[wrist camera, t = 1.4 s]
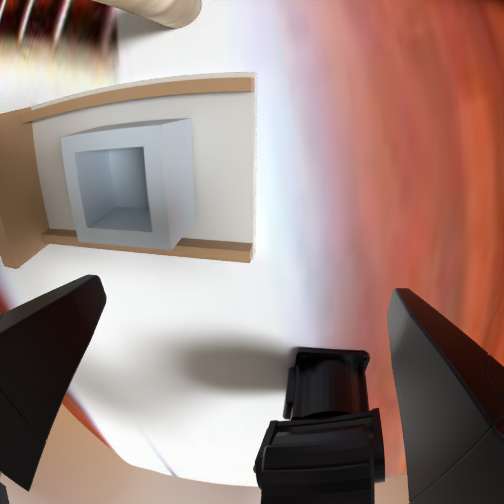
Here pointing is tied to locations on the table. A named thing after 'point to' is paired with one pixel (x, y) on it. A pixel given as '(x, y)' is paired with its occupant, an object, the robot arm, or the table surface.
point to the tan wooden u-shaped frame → (126, 111)
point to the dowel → (161, 10)
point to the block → (131, 183)
